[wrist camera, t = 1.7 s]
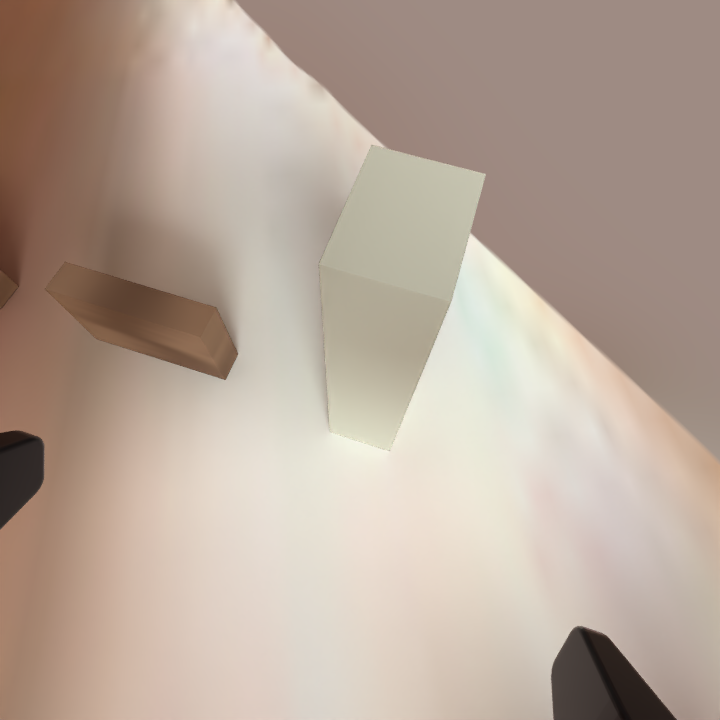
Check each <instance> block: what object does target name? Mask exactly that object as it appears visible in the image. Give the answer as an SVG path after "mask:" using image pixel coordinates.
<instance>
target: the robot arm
mask: <svg viewBox="0 0 720 720" xmlns="http://www.w3.org/2000/svg"><path fill="white" fill-rule="evenodd" d="M43 480H44V443H43V441H42V439H41V438H39V437H37V436H34V435H32V434H29V433H26V432H23V431H9V432H3V433H0V529H1V528H2V527H3V526H4V525H5V524H6V523H7V522H8V521H9V520H10V519H11V518H12V517H13V516H14V515H15V514H16V513H17V512H18V511H19V510H20V509H21V508H22V507H23V506H24V505H25V504H26V503H27V502H28V501H29V500H30V499H31V498H32V497H33V496H34V495H35V494H36V493H37V491H38V490H39V489H40V487H41V485H42V483H43ZM551 683H552V701H553V718H554V720H677V719H676V718H675V717H674V716H673V715H672V713H671V712H670V711H669V710H668V709H667V707H666V706H665V705H664V704H663V703H662V701H661V700H660V699H659V698H658V696H657V695H656V694H655V693H654V692H653V690H652V689H651V688H650V687H649V686H648V684H647V683H646V682H645V681H644V680H643V678H642V677H641V676H640V675H639V674H638V672H637V671H636V670H635V669H634V668H633V666H632V665H631V664H630V663H629V661H628V660H627V659H626V658H625V657H624V655H623V654H622V653H621V652H620V651H619V649H618V648H617V647H616V646H615V645H614V643H613V642H612V641H611V640H610V639H609V638H608V637H607V636H606V635H604V634H603V633H600V632H597V631H594V630H592V629H589V628H586V627H583V626H577V627H575V628H573V630H572V631H571V632H570V634H569V636H568V638H567V639H566V641H565V643H564V645H563V646H562V648H561V650H560V652H559V653H558V655H557V657H556V659H555V661H554V663H553V667H552V674H551Z"/></svg>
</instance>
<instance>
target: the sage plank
mask: <svg viewBox="0 0 720 720" xmlns="http://www.w3.org/2000/svg"><path fill="white" fill-rule="evenodd" d="M485 175H486V174H483V173H479V172H475V171H471V170H468V169H463V168H460V167H456V166H452V165H448V164H444V163H440V162H437V161H433V160H428V159H425V158H421V157H417V156H413V155H409V154H405V153H401V152H397V151H394V150H390V149H386V148H382V147H378V146H374V145H371V147H370V150H369V152H368V154H367V156H366V159H365V161H364V163H363V165H362V168H361V170H360V172H359V174H358V177H357V179H356V181H355V183H354V186H353V188H352V190H351V192H350V195H349V197H348V199H347V201H346V204H345V206H344V208H343V210H342V213H341V215H340V217H339V219H338V222H337V224H336V226H335V228H334V231H333V233H332V235H331V237H330V240H329V242H328V244H327V246H326V249H325V251H324V253H323V255H322V258H321V260H320V262H319V276H320V291H321V306H322V322H323V337H324V352H325V367H326V382H327V398H328V413H329V428H330V432H331V433H334V434H338V435H341V436H344V437H347V438H350V439H353V440H356V441H359V442H362V443H365V444H369V445H372V446H375V447H378V448H381V449H384V450H387V451H390V449H391V447H392V445H393V442H394V440H395V437H396V435H397V432H398V430H399V428H400V425H401V423H402V420H403V418H404V415H405V413H406V410H407V408H408V406H409V403H410V401H411V398H412V396H413V393H414V391H415V389H416V386H417V384H418V381H419V379H420V376H421V374H422V372H423V369H424V367H425V364H426V362H427V359H428V357H429V355H430V352H431V350H432V347H433V345H434V342H435V340H436V338H437V335H438V333H439V330H440V328H441V325H442V323H443V320H444V318H445V316H446V313H447V311H448V308H449V306H450V303H451V301H452V297H453V293H454V289H455V286H456V282H457V278H458V275H459V271H460V267H461V264H462V260H463V256H464V253H465V249H466V245H467V242H468V238H469V234H470V231H471V226H472V223H473V219H474V216H475V212H476V208H477V205H478V201H479V197H480V193H481V190H482V186H483V182H484V179H485Z"/></svg>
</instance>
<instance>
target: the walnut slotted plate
mask: <svg viewBox="0 0 720 720" xmlns="http://www.w3.org/2000/svg"><path fill="white" fill-rule="evenodd" d="M17 287H18V285H17V284H16V283H15V282H14V281H12V280H11V279H10V278H9V277H8V276H7V275H6V274H5V273H4V272H2V271H1V270H0V308H2V307H3V305H4V304H5V303H6V301H7V300H8V299H9V298H10V296H11V295H12V294H13V293H14V291H15V290H16V289H17ZM45 290H46V291H47V292H49V293H50V294H51V295H52V296H53V297H54V298H55V299H56V300H57V301H58V302H59V303H60V304H61V305H62V306H63V307H64V308H65V309H66V310H67V311H68V312H69V313H70V314H71V315H72V316H73V317H74V318H75V319H76V320H77V321H78V322H79V323H81V324H82V325H83V326H84V327H85V328H86V329H87V330H88V331H89V332H90V333H91V334H92V335H93V336H94V337H95V338H96V339H99V340H102V341H105V342H108V343H111V344H114V345H117V346H121V347H124V348H127V349H130V350H133V351H136V352H139V353H143V354H146V355H149V356H152V357H155V358H158V359H161V360H165V361H168V362H171V363H174V364H177V365H180V366H183V367H187V368H190V369H193V370H196V371H199V372H202V373H206V374H209V375H212V376H215V377H218V378H221V379H224V380H226V378H227V376H228V374H229V372H230V370H231V368H232V365H233V363H234V361H235V359H236V357H237V355H238V353H237V351H236V349H235V347H234V345H233V343H232V340H231V338H230V336H229V334H228V332H227V330H226V327H225V325H224V323H223V321H222V319H221V317H220V314H219V312H218V310H217V308H216V307H213V306H209V305H206V304H203V303H199V302H196V301H193V300H189V299H186V298H183V297H180V296H176V295H173V294H170V293H166V292H163V291H160V290H156V289H153V288H150V287H146V286H143V285H140V284H136V283H133V282H130V281H127V280H123V279H120V278H117V277H113V276H110V275H107V274H103V273H100V272H97V271H93V270H90V269H87V268H84V267H80V266H77V265H74V264H70V263H67V262H65V263H64V264H63V265H62V267H61V268H60V269H59V271H58V272H57V273H56V275H55V276H54V277H53V279H52V280H51V281H50V283H49V284H48V285H47V287H46V288H45Z"/></svg>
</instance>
